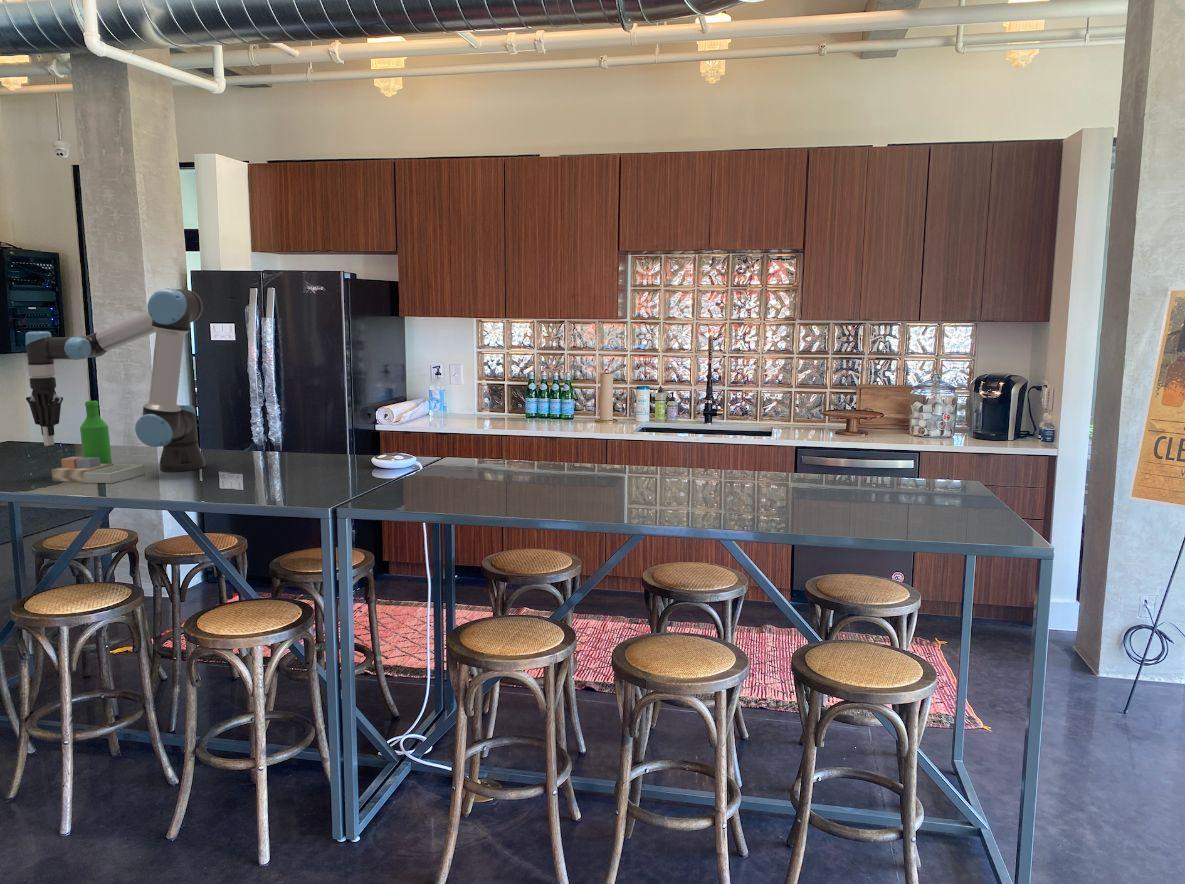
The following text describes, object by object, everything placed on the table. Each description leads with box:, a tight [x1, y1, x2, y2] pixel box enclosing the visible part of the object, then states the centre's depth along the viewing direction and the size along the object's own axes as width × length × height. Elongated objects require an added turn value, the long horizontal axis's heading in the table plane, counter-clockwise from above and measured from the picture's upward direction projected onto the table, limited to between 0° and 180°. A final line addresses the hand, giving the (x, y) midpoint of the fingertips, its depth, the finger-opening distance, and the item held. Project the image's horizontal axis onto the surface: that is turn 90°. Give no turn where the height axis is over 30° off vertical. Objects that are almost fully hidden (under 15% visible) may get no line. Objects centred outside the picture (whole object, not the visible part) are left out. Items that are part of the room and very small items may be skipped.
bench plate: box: [51, 463, 114, 483], centre depth 297 cm, size 14×12×4 cm
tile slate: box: [76, 457, 101, 468], centre depth 296 cm, size 5×5×3 cm
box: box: [83, 463, 146, 485], centre depth 294 cm, size 10×16×4 cm, turn 169°
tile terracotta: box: [60, 456, 85, 468], centre depth 297 cm, size 5×5×3 cm
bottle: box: [79, 400, 113, 464], centre depth 312 cm, size 9×9×25 cm
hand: (49, 444), depth 298 cm, fingers closed
